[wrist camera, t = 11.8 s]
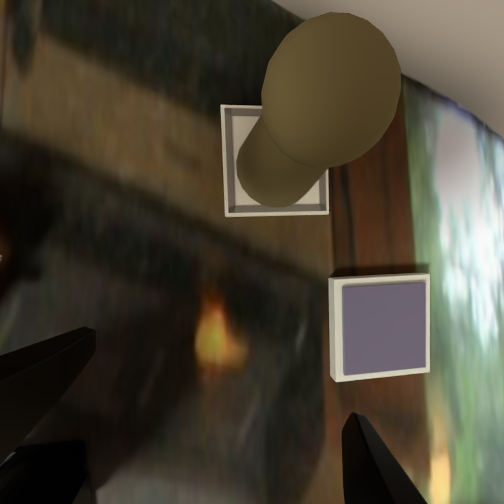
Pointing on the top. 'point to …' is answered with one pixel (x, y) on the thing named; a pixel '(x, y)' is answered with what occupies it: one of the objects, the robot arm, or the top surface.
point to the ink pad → (379, 325)
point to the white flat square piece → (236, 199)
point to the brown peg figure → (319, 106)
